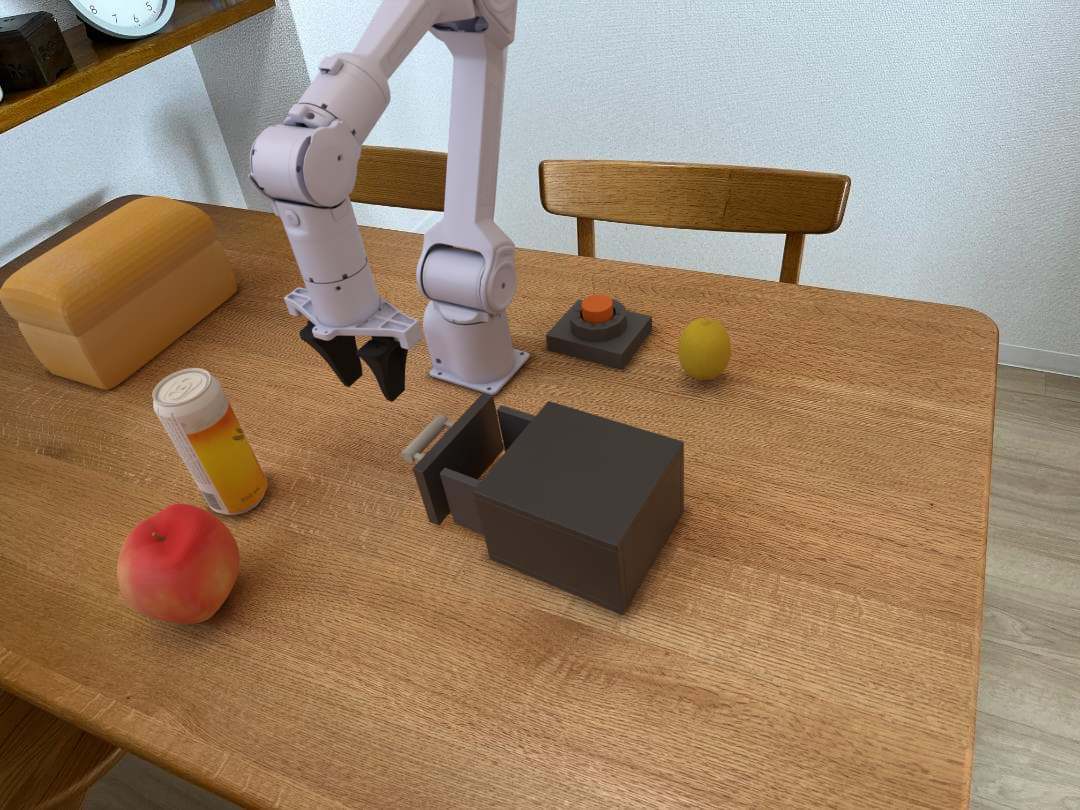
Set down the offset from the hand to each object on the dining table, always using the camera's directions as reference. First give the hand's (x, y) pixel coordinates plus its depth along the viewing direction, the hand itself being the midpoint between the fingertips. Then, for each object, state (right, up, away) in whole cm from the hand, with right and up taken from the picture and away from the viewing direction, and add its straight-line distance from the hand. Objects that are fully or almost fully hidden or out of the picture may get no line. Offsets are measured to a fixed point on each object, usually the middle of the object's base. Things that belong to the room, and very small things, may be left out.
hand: (374, 387), depth 78 cm
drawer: (+12, -10, 0) cm, 16 cm away
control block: (+23, +6, +19) cm, 30 cm away
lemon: (+34, +1, +11) cm, 36 cm away
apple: (-15, -20, -4) cm, 25 cm away
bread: (-38, +9, +33) cm, 51 cm away
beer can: (-15, -11, +6) cm, 20 cm away
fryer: (+20, -14, -4) cm, 25 cm away
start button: (+23, +9, +16) cm, 29 cm away
